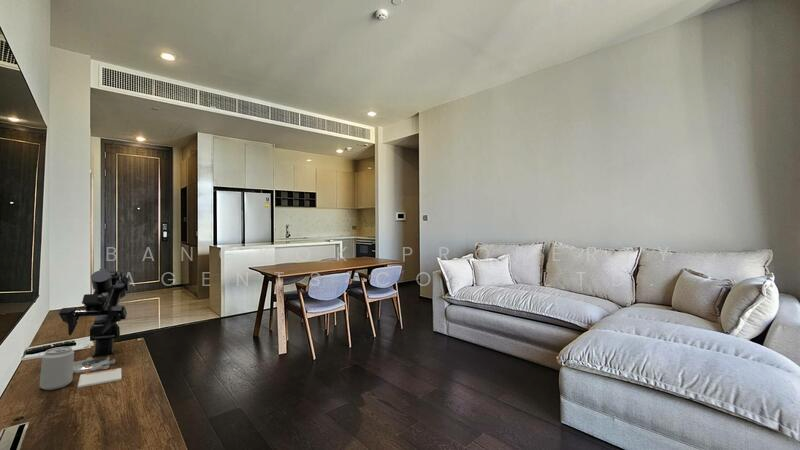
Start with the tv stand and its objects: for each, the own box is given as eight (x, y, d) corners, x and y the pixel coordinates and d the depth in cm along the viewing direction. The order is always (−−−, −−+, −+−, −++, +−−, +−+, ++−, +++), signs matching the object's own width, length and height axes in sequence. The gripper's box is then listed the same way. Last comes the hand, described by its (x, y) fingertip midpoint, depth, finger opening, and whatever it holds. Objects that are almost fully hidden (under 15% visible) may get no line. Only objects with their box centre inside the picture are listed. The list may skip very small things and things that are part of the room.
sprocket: (61, 364, 128) (61, 359, 128) (115, 356, 138) (115, 352, 138) (55, 378, 116) (56, 373, 116) (115, 369, 126) (115, 364, 126)
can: (50, 392, 106) (54, 353, 107) (32, 389, 108) (36, 351, 108) (77, 382, 113) (80, 346, 114) (60, 380, 115) (63, 344, 115)
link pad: (80, 376, 118) (80, 374, 118) (121, 369, 125) (121, 367, 125) (77, 387, 110) (77, 385, 110) (121, 379, 117) (121, 377, 117)
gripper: (63, 285, 124) (44, 323, 113) (126, 284, 131) (113, 320, 121) (72, 303, 131) (54, 340, 120) (131, 301, 138) (120, 336, 127)
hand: (86, 333), depth 122 cm, fingers open, 9 cm apart
